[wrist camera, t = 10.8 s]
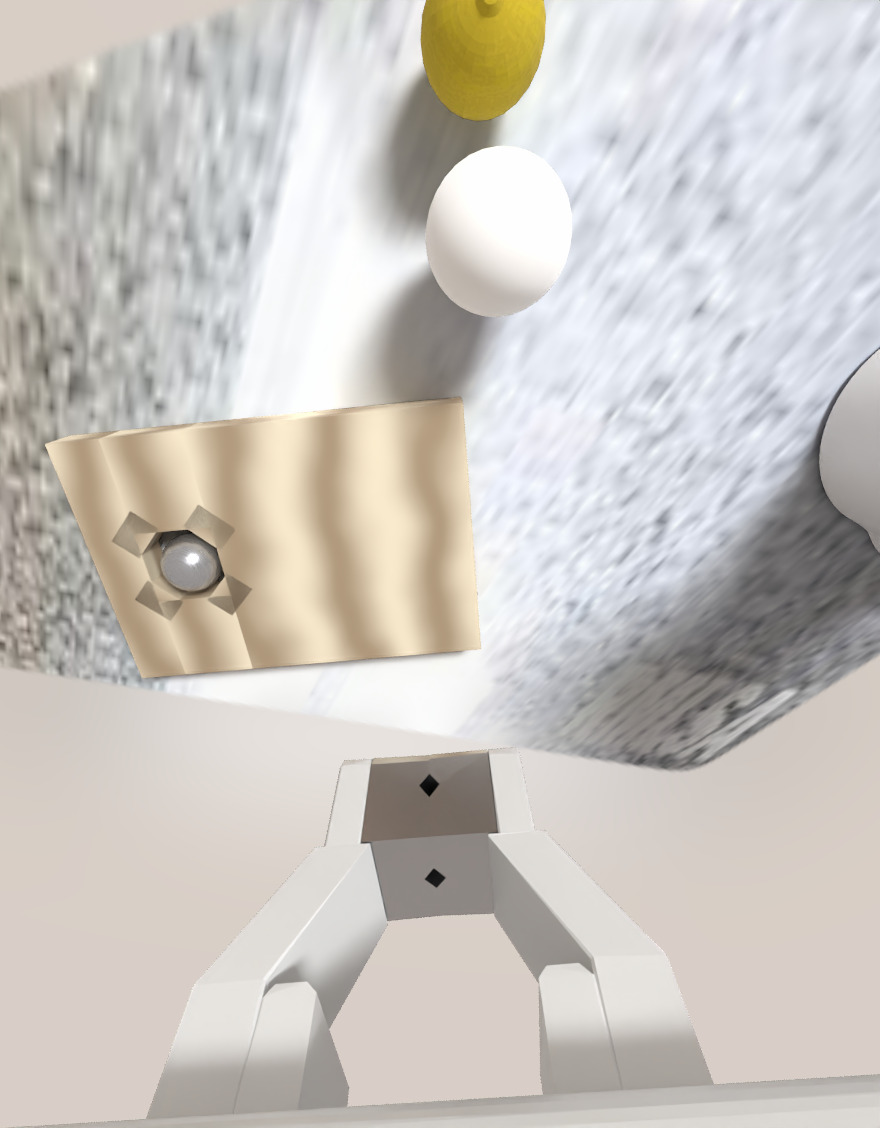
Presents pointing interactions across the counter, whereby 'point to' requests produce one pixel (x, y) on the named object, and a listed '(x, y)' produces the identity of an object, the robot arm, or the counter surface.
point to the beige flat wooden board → (284, 535)
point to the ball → (190, 563)
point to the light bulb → (498, 231)
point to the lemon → (482, 52)
